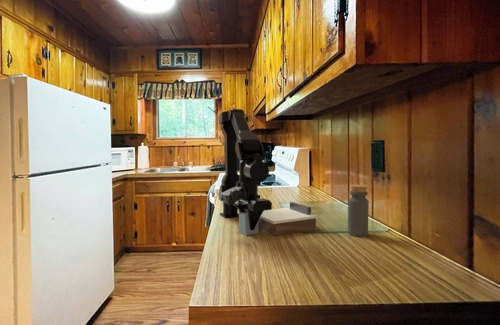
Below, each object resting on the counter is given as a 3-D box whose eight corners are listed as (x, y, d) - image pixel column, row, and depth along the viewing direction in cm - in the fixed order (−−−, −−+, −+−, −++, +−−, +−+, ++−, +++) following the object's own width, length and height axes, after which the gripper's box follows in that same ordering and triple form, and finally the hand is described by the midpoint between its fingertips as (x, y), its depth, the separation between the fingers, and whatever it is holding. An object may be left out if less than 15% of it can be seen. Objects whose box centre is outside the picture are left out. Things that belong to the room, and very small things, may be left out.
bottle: (364, 231, 94) (365, 184, 94) (370, 237, 89) (371, 187, 88) (345, 231, 95) (346, 184, 94) (350, 236, 89) (351, 186, 88)
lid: (251, 214, 102) (251, 204, 102) (290, 209, 109) (291, 200, 109) (273, 224, 89) (273, 213, 89) (316, 218, 97) (317, 208, 96)
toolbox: (252, 225, 102) (252, 214, 102) (290, 219, 109) (290, 210, 109) (274, 236, 90) (274, 224, 89) (315, 229, 97) (316, 218, 97)
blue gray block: (239, 231, 94) (239, 212, 94) (251, 229, 96) (251, 211, 96) (245, 235, 90) (245, 215, 90) (258, 233, 93) (258, 214, 92)
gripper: (213, 176, 97) (213, 224, 98) (237, 183, 80) (237, 240, 81) (244, 175, 102) (244, 220, 103) (273, 181, 86) (272, 234, 87)
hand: (248, 228), depth 93 cm, fingers closed on blue gray block, 4 cm apart
